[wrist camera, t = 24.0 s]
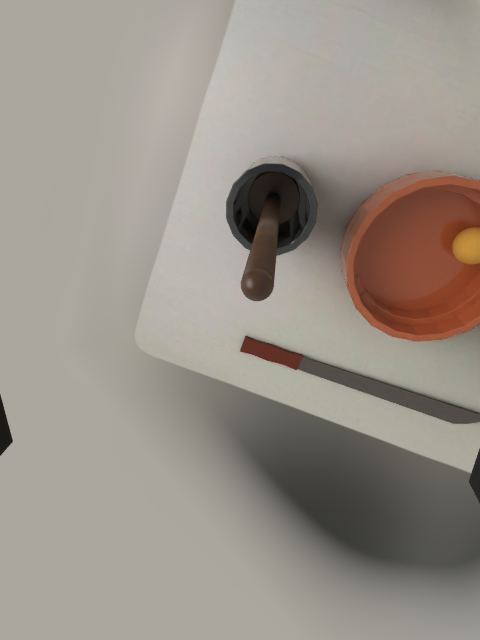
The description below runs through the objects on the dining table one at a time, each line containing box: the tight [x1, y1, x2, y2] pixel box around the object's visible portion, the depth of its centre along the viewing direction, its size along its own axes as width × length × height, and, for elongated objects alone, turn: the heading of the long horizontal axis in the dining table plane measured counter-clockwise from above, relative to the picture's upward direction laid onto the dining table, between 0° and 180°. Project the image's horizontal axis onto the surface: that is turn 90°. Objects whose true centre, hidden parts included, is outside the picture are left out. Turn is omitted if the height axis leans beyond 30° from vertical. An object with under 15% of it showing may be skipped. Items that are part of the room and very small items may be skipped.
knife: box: [240, 336, 480, 424], centre depth 57 cm, size 3×35×1 cm, turn 72°
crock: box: [226, 157, 317, 256], centre depth 43 cm, size 8×8×10 cm
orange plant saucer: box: [341, 171, 480, 341], centre depth 46 cm, size 18×18×6 cm
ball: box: [452, 227, 480, 265], centre depth 45 cm, size 4×4×4 cm
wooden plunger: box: [241, 172, 300, 301], centre depth 33 cm, size 6×6×30 cm
